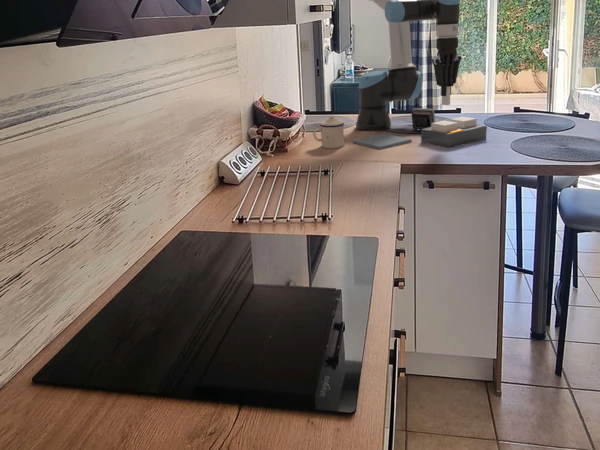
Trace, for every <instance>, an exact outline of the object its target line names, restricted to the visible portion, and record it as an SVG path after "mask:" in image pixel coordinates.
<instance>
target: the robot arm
mask: <svg viewBox="0 0 600 450" xmlns="http://www.w3.org/2000/svg"><path fill="white" fill-rule="evenodd" d="M368 1H369V2H373V3H374V4H375V5H377V6H378V7H379V8H380V9H382V10H383V11H384V16H385V19H386V21H387V22H388V32H389V46H390V47H389V48H390V60H391V65H390V67H389V68H388V73H387V71H386V70H375V71H370V72H367V73H363V74H362V75H360V76H359V78H358V80H359V81H358V82H359V83H358V92H359V93H358V95H359V96H358V97H359V112H358V115H357V118H356V122H355V129H356V130H359V131H365V132H366V131H367V132H376V131H377V132H378V131H384V130H389V129H391V128H392V121H391V118H390V114H389V111H388V102H389V103H390V102H398V101H399V102H400V101H409V100H415V99H416V98H418V97H419V96H420V94H421V92H422V88H423V87H422V86H423V77H422V74H421V71H419V70H417V66H416V65H415V64H414V63H413V61H412V58H413V57H412V56H413V55H412V44H411V43H412V42H411V27H410V26H411V25H410V22H415V21H417V22H418V21H434V20H436V37H437V38H436V39H435V41H436V42H435V43H436V45H435V49H436V50H437V53H436V57H435V58H432V59H431V63H432V65H433V69H434V76H435V82H436V83H435V84H436V86H439V87H440V95H441V105H443V106H450V105H451V95H452V87H454V84H456V83H457V79H458V78H457V77H458V72H459V68H460V62H461V61H462V56H461V55H458V52H457V48H458V47H459V37H457V36H459V25H460V23H459V21H460V2H461V1H460V0H368ZM390 127H391V128H390ZM388 128H389V129H388Z"/></svg>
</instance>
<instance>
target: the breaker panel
mask: <svg viewBox="0 0 600 450" xmlns="http://www.w3.org/2000/svg"><path fill="white" fill-rule="evenodd" d="M487 130H488V125H485V124H478V123H476V126H472V127H468V128H459V127H458V129H457V130H452V131H448V132H446V133H444V132H439V131H433V130H431V127H429V128H425V129H421V137H420V139H421V140H420V142H421V143H423V144H427V145H432V146H437V147H442V148H446V149H450V148H455V147H459V146H463V145H466V144H471V143H475V142H479V141H483V140H487Z"/></svg>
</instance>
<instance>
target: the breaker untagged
mask: <svg viewBox="0 0 600 450" xmlns="http://www.w3.org/2000/svg"><path fill="white" fill-rule="evenodd" d="M477 120H478V119H477V118H475V117H468V116H458V117H455V118H454V117H453V118H450V119H449V121H451V122H457V123H458V127H459V128H468V127H472V126H476V124H477Z"/></svg>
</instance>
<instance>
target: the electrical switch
mask: <svg viewBox="0 0 600 450" xmlns="http://www.w3.org/2000/svg"><path fill="white" fill-rule="evenodd" d="M410 116H411V122H412V130H413V129H425V128H429V127H431V124H432V123H435V122H436V117H435V109H434V108H420V107H412V109H411V114H410Z"/></svg>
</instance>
